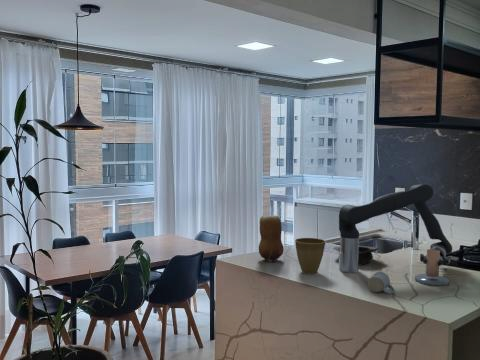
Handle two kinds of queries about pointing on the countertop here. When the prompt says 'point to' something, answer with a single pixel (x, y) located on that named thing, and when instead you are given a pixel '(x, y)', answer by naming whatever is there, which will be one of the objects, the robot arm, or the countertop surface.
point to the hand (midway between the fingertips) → (432, 262)
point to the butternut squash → (270, 238)
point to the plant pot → (309, 254)
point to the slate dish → (431, 280)
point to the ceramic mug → (380, 283)
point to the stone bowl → (363, 254)
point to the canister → (432, 263)
